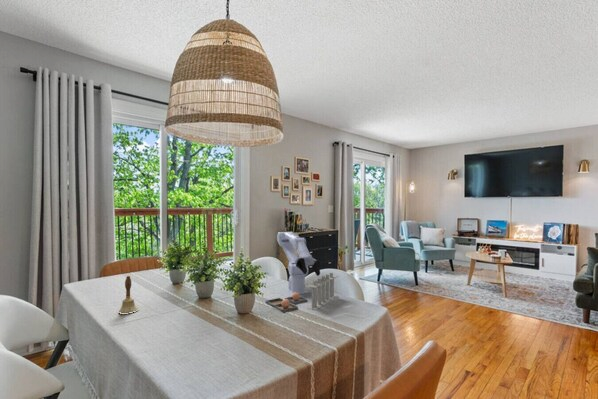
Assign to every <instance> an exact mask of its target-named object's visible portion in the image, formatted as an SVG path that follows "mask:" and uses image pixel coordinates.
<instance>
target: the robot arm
mask: <svg viewBox="0 0 598 399" xmlns="http://www.w3.org/2000/svg"><path fill="white" fill-rule="evenodd" d="M276 240H277V243H278V245H279V247H281V248H282V250H283V252H284V253H285V256H286V258H287V260H288V266H287V270H288V274H289V278H288V289H287V292H289V293H292V294H293V293H295V292H297V293H299V295H301V294H306V293H307V294H308V293H309V291H308V290H306V277H307V275H308V274H309V266H312V268H311V269H312V270H313V272H314V273H315V275H316V276H317V277H320V274H321V269H320V267H321V261H320V260H317V259H315V258H314V257H313V255H312V254H311V253H310V251H309V249H308V247H307V239H306V237H300V236H299V235H297V233H294V231H278V232H277V233H276ZM294 250H295V251H296V253H297V254H296V253H295V251H294ZM297 255H298V256H297Z"/></svg>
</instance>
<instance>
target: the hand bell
mask: <svg viewBox="0 0 598 399" xmlns="http://www.w3.org/2000/svg"><path fill="white" fill-rule="evenodd" d="M124 287H125V290H126V292H125V294H126V295H125V298H124V299H123V300H122V304H121V307H120V309H119V310H118V311H119V312H121V313H129V312H133V311H136V310H137V309H139V308H138V307H137V306H136V304H135V300H134V298H133V297H131V288H132V279H131V276H130V275H126V278H125V281H124Z"/></svg>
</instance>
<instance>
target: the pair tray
mask: <svg viewBox="0 0 598 399" xmlns="http://www.w3.org/2000/svg"><path fill="white" fill-rule="evenodd" d="M283 300H284V298H281V297H276V298H272V299H268V300H265V303H266V304H267V305H268V306H271V307H272V308H274V309H276V310H278V311H280V312H282V313H285V312H286V313H288V312H290V311H294V310H298V308H299V307H298V306H297V304H292V303H290V306H289V307H288V308H283V307H282V305H281V302H282V301H283Z"/></svg>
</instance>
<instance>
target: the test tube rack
mask: <svg viewBox="0 0 598 399" xmlns="http://www.w3.org/2000/svg"><path fill="white" fill-rule="evenodd" d="M338 277H339V276H338V275H334V272H329V273H326V274H325V275H322V276H321V277H317V279H314V280H313V281H312V283H310V284H308V285H307V288H311V305H310V306H308V307H307V310H313V311H317V310H318V309H320V308H322V307H323V306H324V305H326V304H327V303H329V302H331V301H333V300H334V299H336V298H339V295H336V294H335V279H337V278H338Z"/></svg>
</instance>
